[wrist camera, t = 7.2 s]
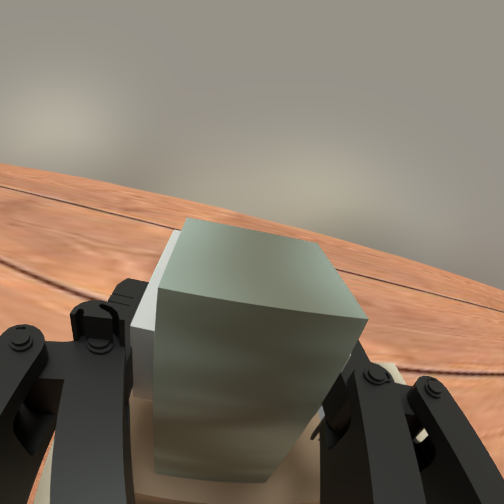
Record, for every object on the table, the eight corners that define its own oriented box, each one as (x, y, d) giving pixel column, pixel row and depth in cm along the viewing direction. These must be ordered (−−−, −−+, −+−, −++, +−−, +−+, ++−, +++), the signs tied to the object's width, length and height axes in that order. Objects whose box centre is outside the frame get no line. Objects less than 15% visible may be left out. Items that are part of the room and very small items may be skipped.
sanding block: (85, 494, 7) (-11, 278, 3) (112, 397, 13) (106, 193, 9) (316, 515, 9) (480, 350, 5) (295, 421, 14) (381, 248, 11)
